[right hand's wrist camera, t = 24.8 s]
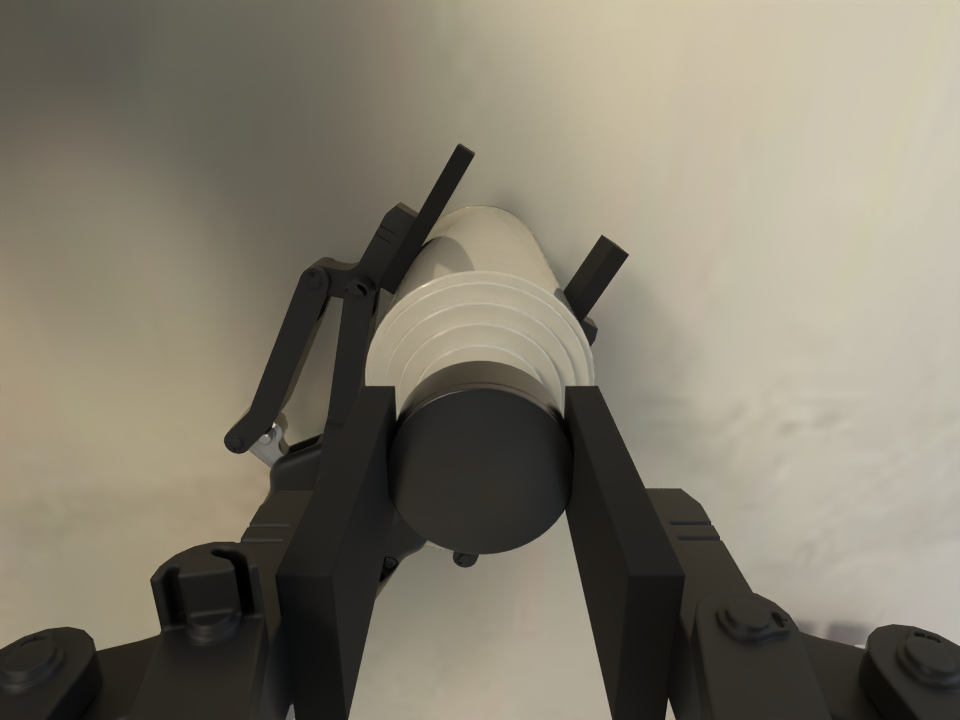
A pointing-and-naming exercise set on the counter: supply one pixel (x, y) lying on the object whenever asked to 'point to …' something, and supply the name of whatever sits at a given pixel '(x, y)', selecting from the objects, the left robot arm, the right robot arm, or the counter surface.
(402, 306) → the bottle
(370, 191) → the counter surface
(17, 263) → the counter surface
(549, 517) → the cap
